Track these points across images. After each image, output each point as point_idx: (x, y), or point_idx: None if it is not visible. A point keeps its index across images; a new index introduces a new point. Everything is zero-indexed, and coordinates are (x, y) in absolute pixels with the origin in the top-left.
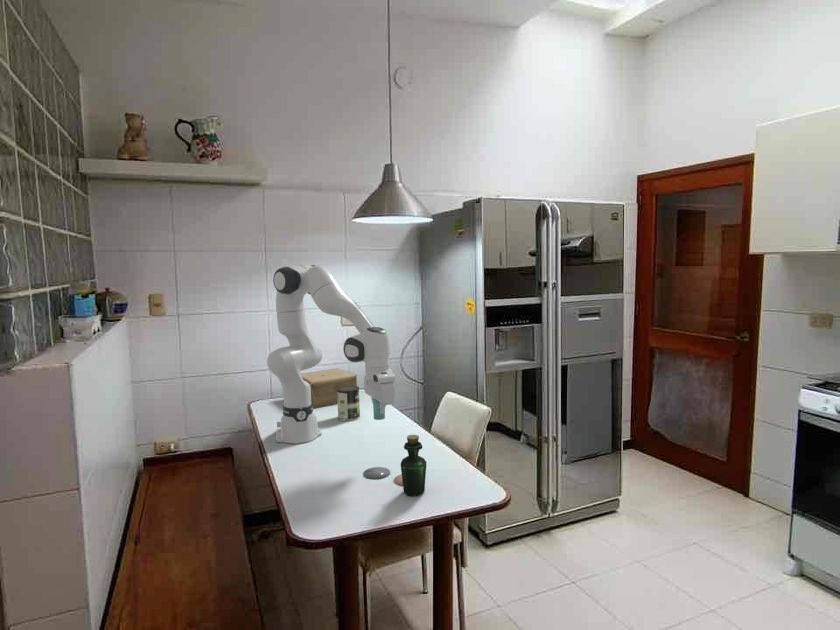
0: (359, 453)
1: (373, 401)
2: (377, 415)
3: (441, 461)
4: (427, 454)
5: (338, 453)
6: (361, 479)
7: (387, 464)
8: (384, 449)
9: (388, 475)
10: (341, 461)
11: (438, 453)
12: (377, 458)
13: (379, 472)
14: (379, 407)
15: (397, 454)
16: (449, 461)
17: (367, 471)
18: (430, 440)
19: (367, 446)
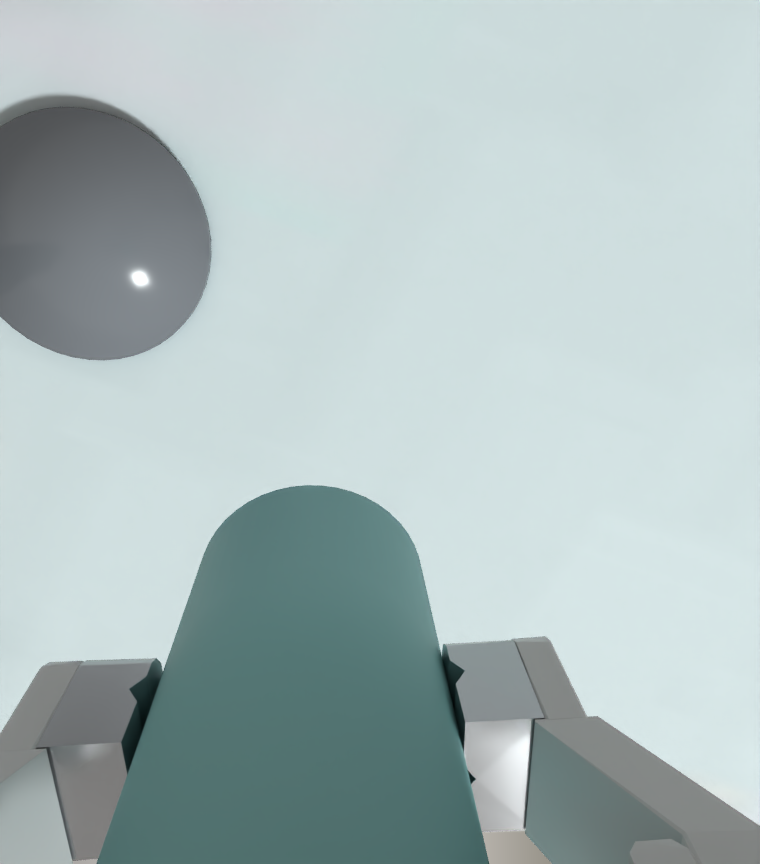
0: (618, 260)
1: (297, 811)
2: (200, 576)
3: None
4: None
5: (745, 62)
6: (3, 49)
7: (249, 395)
8: (574, 486)
9: (8, 317)
10: (530, 16)
11: None
12: (418, 366)
13: (71, 261)
14: (130, 771)
15: (414, 538)
16: None
17: (138, 166)
18: None
19: (727, 384)
